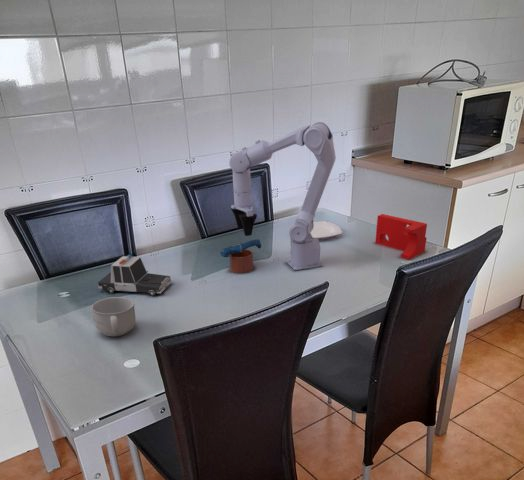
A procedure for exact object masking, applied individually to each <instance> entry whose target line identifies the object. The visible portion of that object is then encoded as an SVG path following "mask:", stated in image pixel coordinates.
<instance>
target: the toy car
mask: <svg viewBox="0 0 524 480" xmlns="http://www.w3.org/2000/svg"><path fill="white" fill-rule="evenodd" d="M148 272H149V271H148V270H147V269H146V267H145V264H144V262H143V260H142V257H141V256H133V255H132V254H127V255H123V256H121V257H120V258H118V259H117V260H116V261H115V262H114V263H112V264H111V265H110V272H109V273H108V274H106V275H105V276H104V277H103V278H102V279H101V280H99V281H98V282H97V284H98V285H97V288H98V289H100V290H104V291H108V293H109V294H114V293H115V291H118V292H131V293H132V292H134V293H148V294H149V296H150V297H154V296H155V295H157V294H162V293H163V292H164V291H165V290H166V289H167V288H168V287H169V286H170V284H171V283H172V281H173V280H172V279H171V275H164V274H158V273H157V274H156V273H150V272H149V273H148Z"/></svg>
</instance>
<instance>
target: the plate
mask: <svg viewBox="0 0 524 480" xmlns="http://www.w3.org/2000/svg"><path fill="white" fill-rule="evenodd" d="M313 224H314V227H313V230H312V231H311V232H310V234H311V235H312V237H313V238H314V237H316V238H317V239H318V240H319V241H320V240H327V239H330V238H335V237H336V236H340V235H342V234H343V231H342V229H341V227H340V226H339V225H338V224H335V223H332V222H330V221H325V220H324V221H313ZM292 225H293V224H291V225H290V227H289V229H290V228H291V226H292Z"/></svg>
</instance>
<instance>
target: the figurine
mask: <svg viewBox="0 0 524 480" xmlns="http://www.w3.org/2000/svg"><path fill="white" fill-rule="evenodd" d="M254 246H256V247H257V248H258V249H261V248H262V243H261V240H260V239H259V238H255V239H251V240H247V241H245V242H244V241H243V242H239V243H237V244H235V245H229V246H226V247H223V248H221V249H220V255H221V257H222V258H229V256H230V254H233V255H234V254H238V253H240V252H242V251H244V250H245V249H247V250H248V249H249V248H252V247H254Z"/></svg>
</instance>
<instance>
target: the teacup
mask: <svg viewBox="0 0 524 480" xmlns="http://www.w3.org/2000/svg"><path fill="white" fill-rule="evenodd" d="M90 309H91V311H92V312H91V313H92V317H93V322H94V325H95V328H96V330H97V331H99V332H100V333H101V334H104V335H105V336H108V337H121V336H124V335H126V334H127V333H130V331H131V330H132V329H134V326H135V325H136V310H135V301H134V300H132V299H131V298H128V297H124V296H111V297H105V298H101V299H99V300H96V301H95V302H94V303H92V305H91V307H90Z"/></svg>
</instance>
